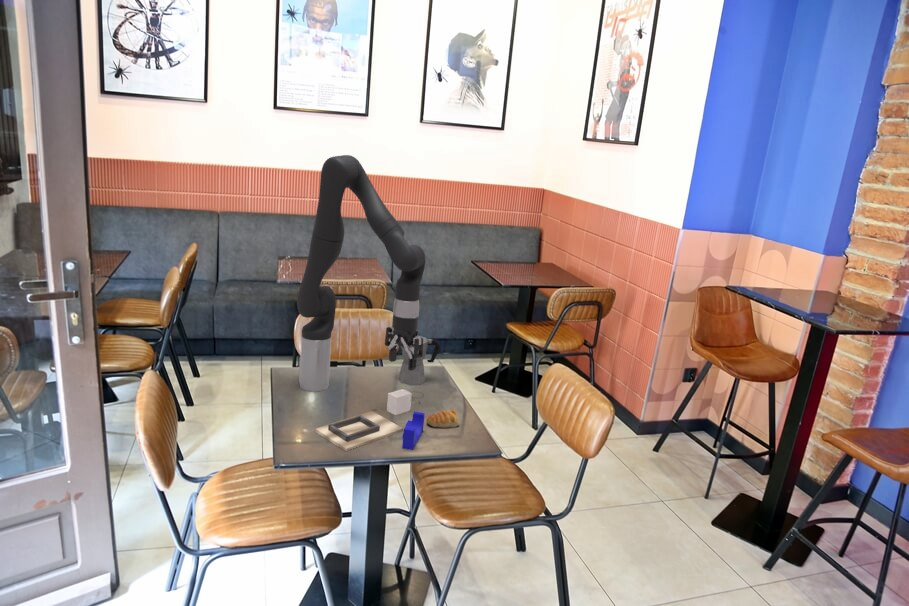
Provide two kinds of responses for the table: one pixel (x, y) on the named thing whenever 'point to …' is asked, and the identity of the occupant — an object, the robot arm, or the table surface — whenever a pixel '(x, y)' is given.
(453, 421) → the pastry
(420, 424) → the cable clip
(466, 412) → the table surface
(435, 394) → the table surface
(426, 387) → the table surface
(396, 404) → the keyed plug
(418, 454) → the table surface
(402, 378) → the coffeepot
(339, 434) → the board
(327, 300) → the robot arm
